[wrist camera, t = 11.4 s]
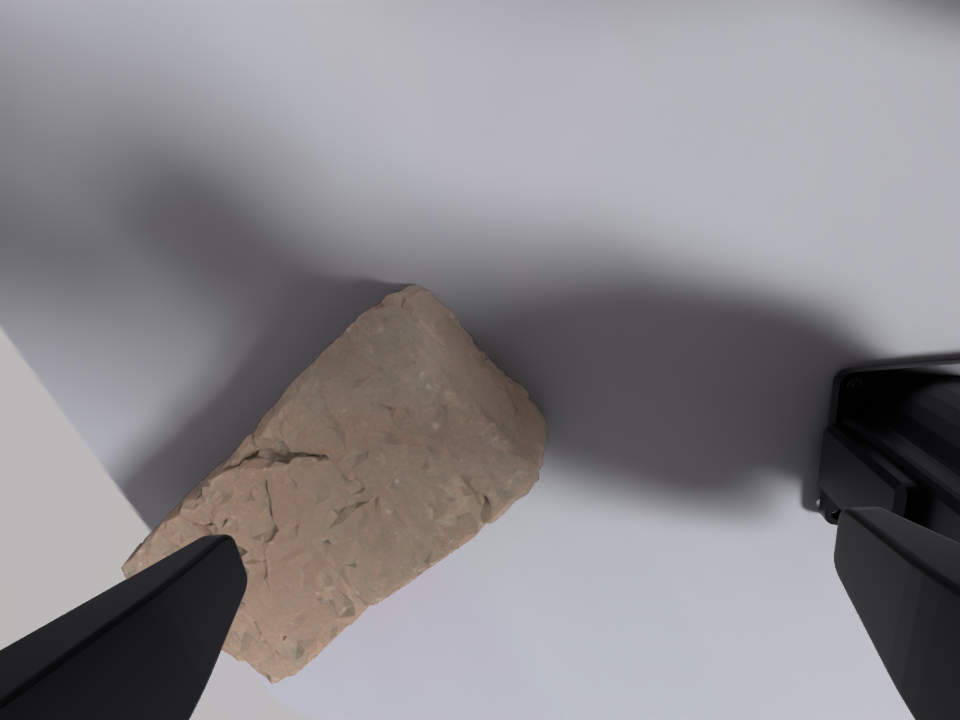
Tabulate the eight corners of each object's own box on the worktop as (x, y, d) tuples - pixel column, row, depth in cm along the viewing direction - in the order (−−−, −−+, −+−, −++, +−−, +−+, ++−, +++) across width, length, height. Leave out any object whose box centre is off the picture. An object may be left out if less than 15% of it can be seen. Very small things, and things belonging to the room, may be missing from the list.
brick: (408, 268, 19) (368, 298, 14) (558, 417, 20) (563, 485, 16) (185, 505, 24) (105, 579, 20) (316, 608, 26) (269, 699, 21)
